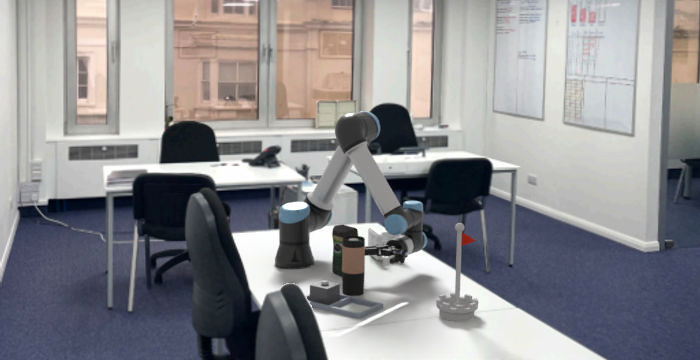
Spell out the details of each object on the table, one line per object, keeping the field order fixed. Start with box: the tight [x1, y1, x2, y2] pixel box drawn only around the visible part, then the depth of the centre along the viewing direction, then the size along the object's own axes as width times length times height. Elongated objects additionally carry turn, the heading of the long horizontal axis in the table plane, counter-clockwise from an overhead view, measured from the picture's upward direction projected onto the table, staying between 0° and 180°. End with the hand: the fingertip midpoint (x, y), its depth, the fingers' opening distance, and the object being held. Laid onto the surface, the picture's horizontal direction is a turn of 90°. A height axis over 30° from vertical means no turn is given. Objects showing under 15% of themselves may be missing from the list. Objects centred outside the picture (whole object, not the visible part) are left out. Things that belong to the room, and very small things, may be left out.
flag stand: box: [436, 222, 479, 322], centre depth 255 cm, size 13×13×30 cm
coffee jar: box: [331, 223, 359, 278], centre depth 300 cm, size 10×8×19 cm
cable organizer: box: [367, 226, 403, 261], centre depth 326 cm, size 15×11×12 cm
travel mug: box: [341, 235, 366, 297], centre depth 275 cm, size 8×8×20 cm
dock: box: [305, 293, 384, 320], centre depth 263 cm, size 25×13×2 cm, turn 55°
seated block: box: [309, 279, 341, 305], centre depth 265 cm, size 7×7×7 cm
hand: (366, 259), depth 281 cm, fingers open, 13 cm apart
